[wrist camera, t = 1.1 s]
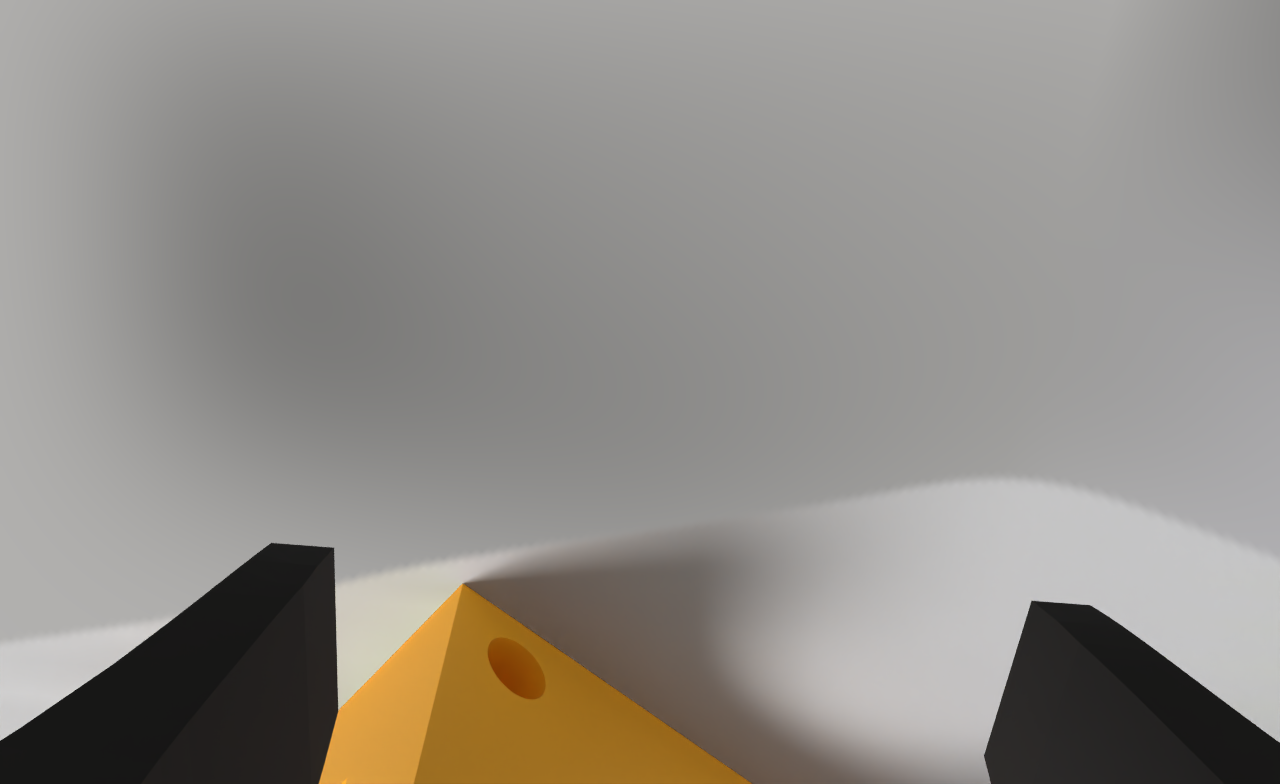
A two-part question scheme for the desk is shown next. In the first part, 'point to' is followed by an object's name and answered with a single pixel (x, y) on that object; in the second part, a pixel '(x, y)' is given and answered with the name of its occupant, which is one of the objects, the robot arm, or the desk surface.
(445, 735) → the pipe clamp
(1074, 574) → the desk surface
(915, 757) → the desk surface
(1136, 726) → the robot arm
